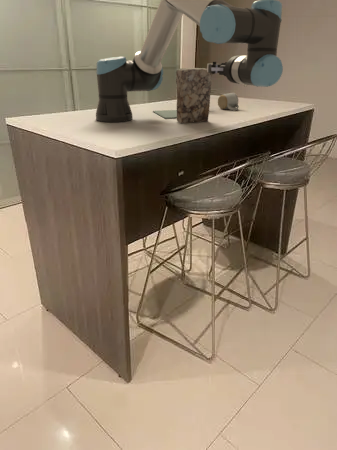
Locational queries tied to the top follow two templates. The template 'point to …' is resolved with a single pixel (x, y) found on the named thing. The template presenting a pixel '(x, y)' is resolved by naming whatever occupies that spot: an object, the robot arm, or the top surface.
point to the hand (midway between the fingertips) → (209, 67)
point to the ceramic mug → (228, 101)
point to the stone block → (193, 94)
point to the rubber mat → (167, 114)
